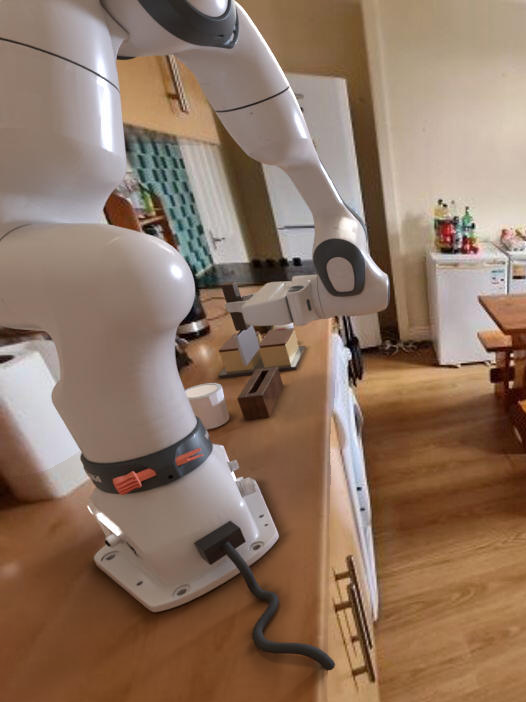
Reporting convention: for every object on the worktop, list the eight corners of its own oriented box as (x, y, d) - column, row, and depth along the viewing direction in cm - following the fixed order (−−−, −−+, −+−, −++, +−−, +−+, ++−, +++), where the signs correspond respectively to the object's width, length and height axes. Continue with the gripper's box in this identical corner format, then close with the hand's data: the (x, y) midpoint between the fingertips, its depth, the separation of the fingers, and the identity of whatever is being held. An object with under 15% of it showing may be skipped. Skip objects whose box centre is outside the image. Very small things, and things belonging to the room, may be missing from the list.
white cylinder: (213, 433, 78) (199, 400, 75) (182, 429, 79) (168, 397, 76) (241, 414, 84) (230, 383, 81) (212, 411, 85) (200, 381, 82)
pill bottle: (281, 349, 116) (273, 320, 112) (277, 344, 119) (269, 316, 115) (300, 345, 118) (292, 316, 114) (295, 340, 121) (288, 313, 118)
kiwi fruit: (244, 338, 124) (236, 312, 120) (249, 326, 134) (242, 301, 131) (275, 334, 127) (268, 309, 123) (278, 322, 137) (271, 298, 134)
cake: (296, 369, 103) (289, 344, 100) (219, 378, 99) (209, 353, 96) (305, 348, 116) (299, 325, 113) (237, 355, 112) (229, 332, 109)
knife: (251, 365, 81) (225, 289, 74) (239, 366, 81) (213, 289, 74) (263, 347, 90) (242, 277, 83) (253, 348, 89) (230, 278, 83)
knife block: (269, 416, 83) (262, 394, 81) (244, 420, 82) (236, 398, 80) (283, 386, 95) (277, 366, 93) (262, 389, 94) (255, 369, 92)
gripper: (311, 272, 91) (240, 277, 88) (294, 294, 73) (205, 301, 70) (317, 300, 94) (249, 306, 90) (302, 328, 76) (217, 337, 73)
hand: (230, 304), depth 80 cm, fingers closed on knife, 2 cm apart
